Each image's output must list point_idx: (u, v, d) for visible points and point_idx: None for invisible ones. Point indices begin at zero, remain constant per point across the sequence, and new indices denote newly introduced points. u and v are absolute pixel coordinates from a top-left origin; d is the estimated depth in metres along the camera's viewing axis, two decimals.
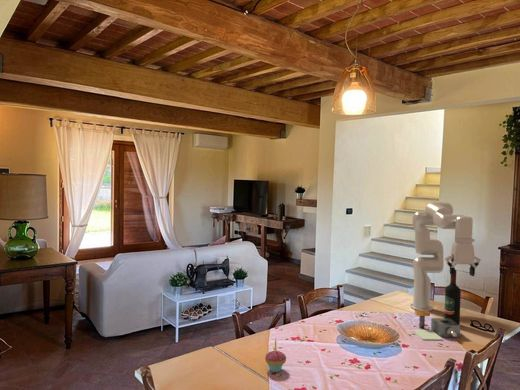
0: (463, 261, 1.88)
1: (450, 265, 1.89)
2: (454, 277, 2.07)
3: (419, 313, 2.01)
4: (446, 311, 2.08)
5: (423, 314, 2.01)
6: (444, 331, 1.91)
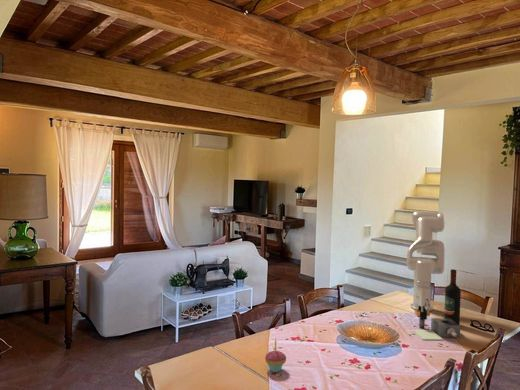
0: None
1: (426, 310, 2.00)
2: (454, 277, 2.07)
3: (419, 313, 2.01)
4: (446, 311, 2.08)
5: None
6: (444, 331, 1.91)
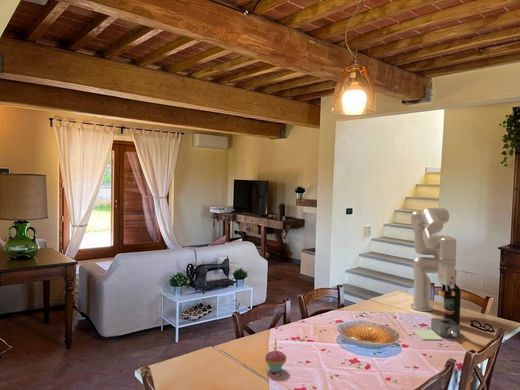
0: None
1: (451, 289, 1.92)
2: None
3: (443, 293, 1.94)
4: (446, 311, 2.08)
5: None
6: (444, 331, 1.91)
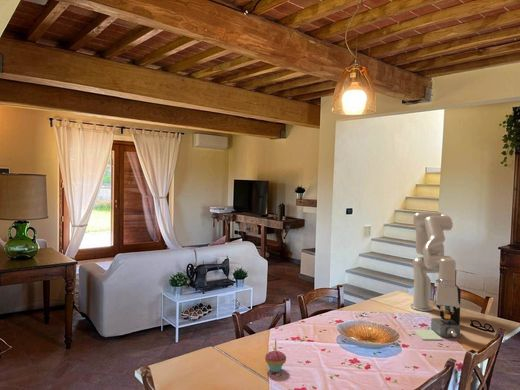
0: None
1: None
2: None
3: None
4: None
5: None
6: (444, 331, 1.91)
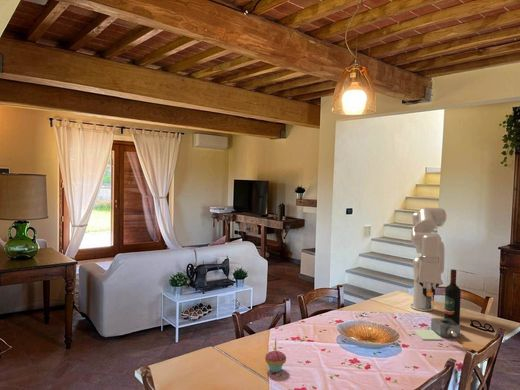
0: None
1: None
2: (454, 277, 2.07)
3: None
4: (446, 311, 2.08)
5: None
6: (444, 331, 1.91)
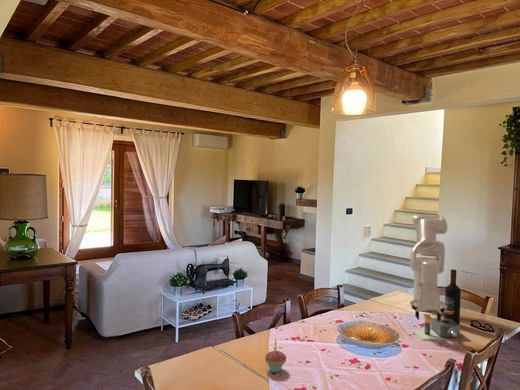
0: None
1: None
2: (454, 277, 2.07)
3: None
4: (446, 311, 2.08)
5: None
6: (444, 331, 1.91)
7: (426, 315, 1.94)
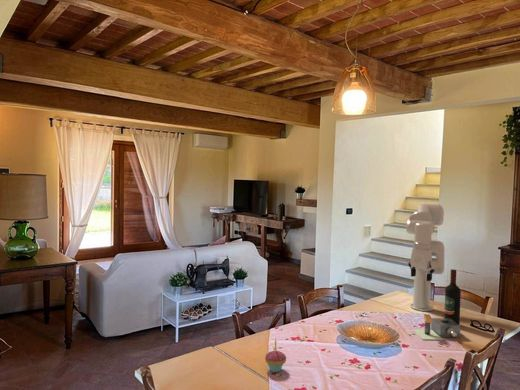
0: None
1: (433, 271, 1.96)
2: (454, 277, 2.07)
3: None
4: (446, 311, 2.08)
5: None
6: (444, 331, 1.91)
7: (426, 315, 1.94)
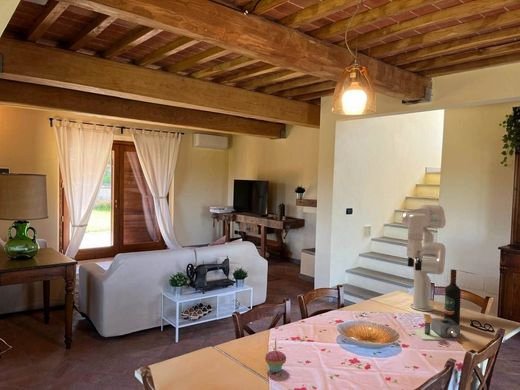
0: None
1: None
2: (454, 277, 2.07)
3: None
4: (446, 311, 2.08)
5: None
6: (444, 331, 1.91)
7: (426, 315, 1.94)
